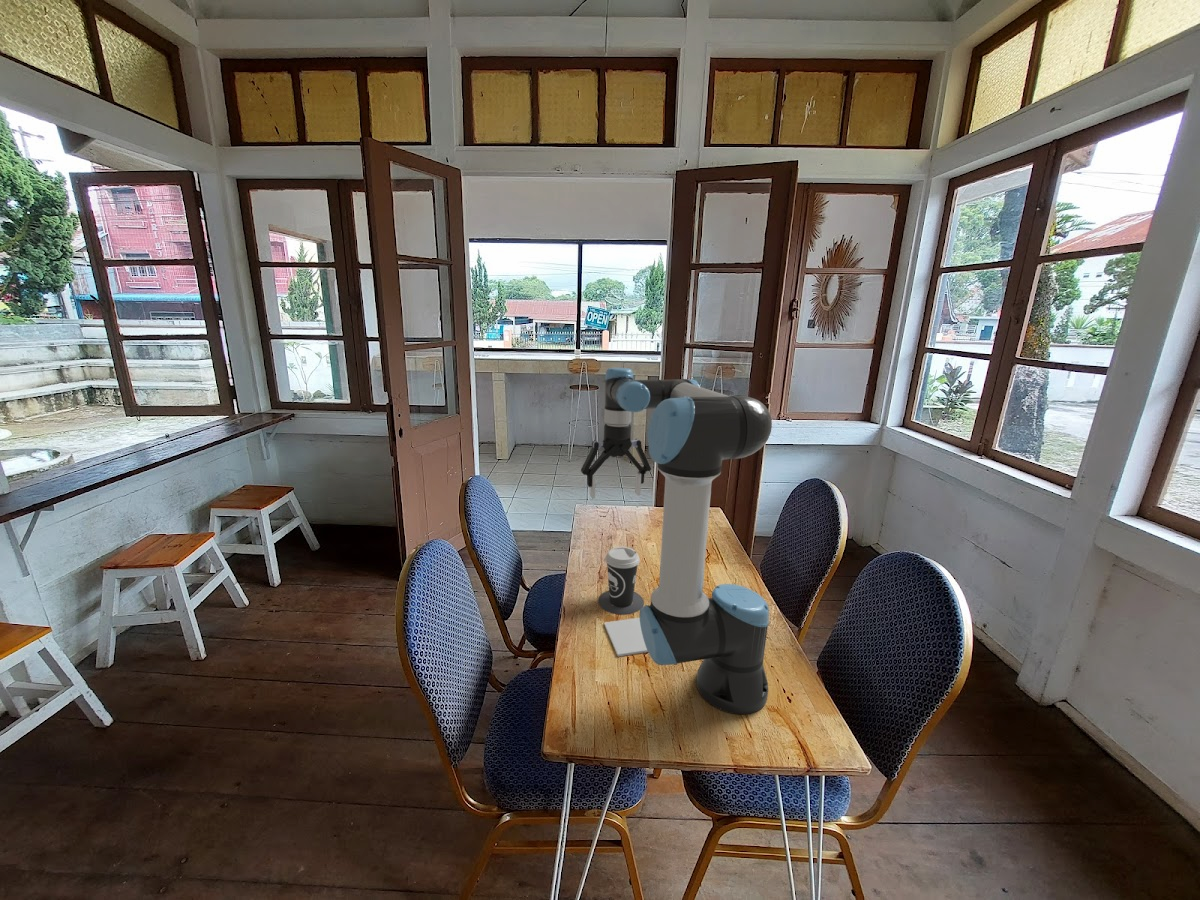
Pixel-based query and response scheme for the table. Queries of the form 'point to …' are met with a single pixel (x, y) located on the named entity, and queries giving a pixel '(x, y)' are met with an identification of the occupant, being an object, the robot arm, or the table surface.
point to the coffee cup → (622, 575)
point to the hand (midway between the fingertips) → (615, 495)
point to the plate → (626, 636)
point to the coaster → (607, 606)
